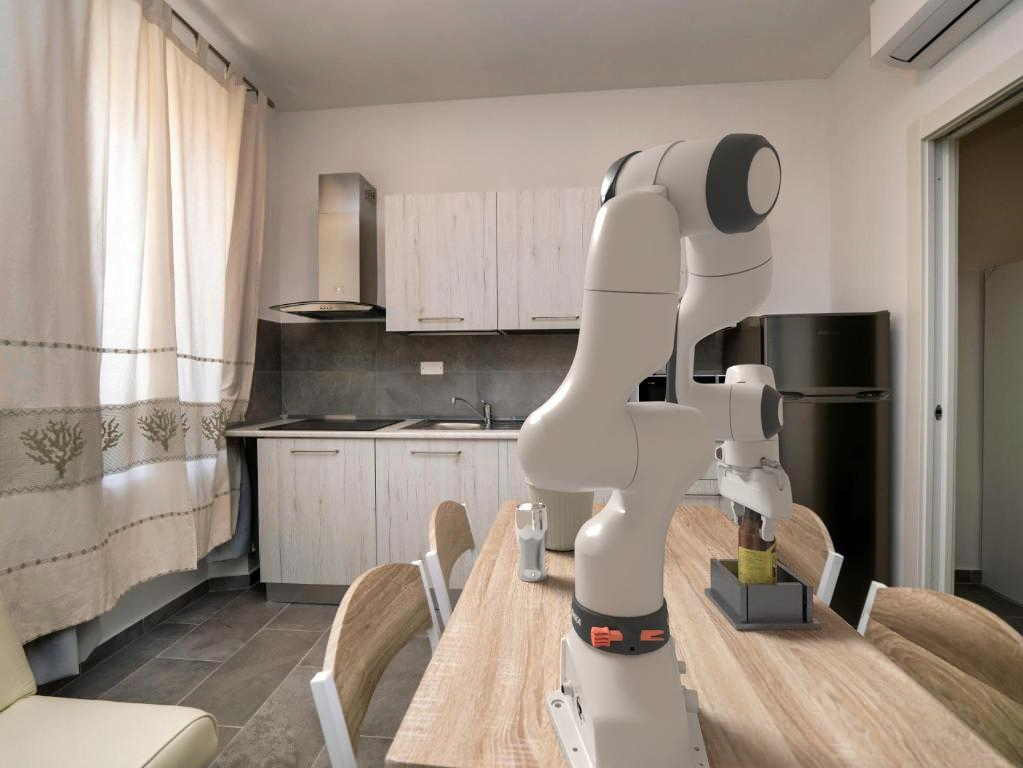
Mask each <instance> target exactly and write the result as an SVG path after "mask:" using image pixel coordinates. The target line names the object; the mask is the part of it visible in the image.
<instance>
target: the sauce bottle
mask: <svg viewBox="0 0 1023 768" xmlns="http://www.w3.org/2000/svg"><path fill="white" fill-rule="evenodd" d="M744 512H745V513H744V516H745V519H744V521H743V522H742V524H741V526H739V527H738V530H737V537H738V538H737V539H738V541H737V542H738V544H737V559H738V579H739V580H740V581H741V582H742V583H743V584H744V585H745V583H777V561H778V558H777V539H776V535H775V534H774V540H773V541H765V540H763V539H761V538H760V536H759V535H760V533H759V528H762V525H763V520H762V519H761V514H760V513H758V512H756V511H753V510H751V509H749V508H747V507H745V506H744Z"/></svg>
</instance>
